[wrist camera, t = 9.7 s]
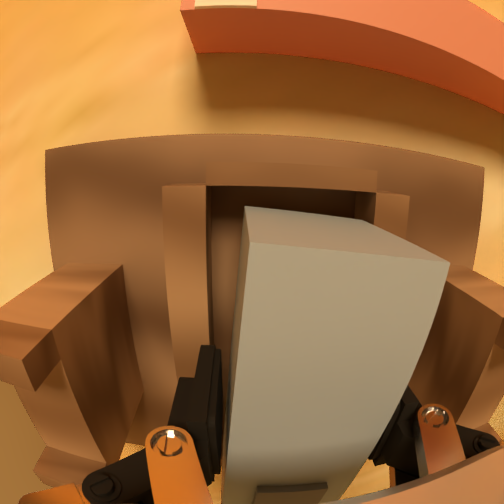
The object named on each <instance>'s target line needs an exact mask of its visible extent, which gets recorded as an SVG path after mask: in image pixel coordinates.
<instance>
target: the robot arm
mask: <svg viewBox="0 0 504 504" xmlns="http://www.w3.org/2000/svg"><path fill="white" fill-rule="evenodd" d="M222 421H223V386H222V362H221V349H216V346H215V345H201V346H200V351H199V356H198V361H197V366H196V372H195V377H194V378H191V377H180V378H179V380H178V384H177V388H176V392H175V396H174V400H173V404H172V408H171V412H170V416H169V420H168V425H167V426H163V427H158V428H156V429H154V430H153V431H151V432H150V433H149V434H148V436H147V438H146V440H145V449H143V450H140V451H138V452H136V453H134V454H132V455H130V456H128V457H126V458H124V459H121V460H119V461H117V462H115V463H113V464H110V465H108V466H106V467H103V468H101V469H99V470H96V471H94V472H92V473H90V474H89V475H87V476H86V477H85V479H84V480H83V483H81V484H78V485H75V484H74V483H70V484H66V485H63V486H59V487H55V488H51V489H46V490H42V491H37V492H32V493H28V494H26V495H24V496H22V497H21V498H20V500H19V503H18V504H213V502H212V499H211V496H210V493H209V490H208V488H207V486H209V485H210V484H212V481H214V474H220V470H221V444H222ZM368 459H369V460H373V463H374V465H375V466H377V465H381V464H385V463H386V464H387V465H388V466H389V475H390V488H388V489H384V490H381V491H377V492H373V493H369V494H365V495H361V496H357V497H352V498H348V499H343V500H337V501H332V502H326V503H320V504H504V440H500V441H499V442H498V440H497V439H496V438H495V437H494V436H493V435H491V434H489V433H486V432H482V431H478V430H474V429H471V428H467V427H464V426H460V425H457V424H455V422H454V419H453V416H452V414H451V412H450V411H449V410H448V409H447V408H445V407H444V406H442V405H438V404H426V405H424V406H422V405H421V403H420V402H419V400H418V399H417V397H416V396H415V394H414V393H413V392H412V390H411V389H410V387H409V386H408V385H407V387H406V389H405V391H404V393H403V396H402V398H401V400H400V402H399V404H398V406H397V408H396V410H395V411H394V413H393V415H392V417H391V419H390V421H389V423H388V425H387V426H386V428H385V430H384V432H383V433H382V435H381V437H380V439H379V440H378V442H377V444H376V445H375V447H374V449H373V450H372V452H371V454H370V455H369V457H368Z"/></svg>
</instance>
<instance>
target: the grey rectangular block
mask: <svg viewBox="0 0 504 504" xmlns="http://www.w3.org/2000/svg"><path fill="white" fill-rule="evenodd" d="M449 266H450V262H448V261H446V260H444V259H442V258H440V257H439V256H437V255H435V254H433V253H431V252H429V251H427V250H425V249H423V248H421V247H419V246H417V245H415V244H413V243H411V242H408V241H406V240H404V239H402V238H400V237H398V236H396V235H394V234H392V233H390V232H387V231H385V230H383V229H381V228H379V227H377V226H374V225H372V224H370V223H368V222H366V221H363V220H359V219H351V218H344V217H337V216H329V215H321V214H313V213H305V212H297V211H288V210H279V209H270V208H261V207H251V206H245V207H244V217H243V227H242V236H241V246H240V256H239V266H238V277H237V287H236V298H235V308H234V319H233V330H232V341H231V352H230V363H229V374H228V386H227V398H226V410H225V422H224V434H223V458H222V490H221V504H320V503H326V502H332V501H337V500H339V499H340V497H341V496H342V495H343V493H344V492H345V491H346V489H347V488H348V487H349V485H350V484H351V482H352V481H353V479H354V478H355V477H356V475H357V474H358V472H359V471H360V469H361V468H362V466H363V465H364V463H365V462H366V460H367V458H368V457H369V455H370V454H371V452H372V450H373V449H374V447H375V445H376V444H377V442H378V440H379V439H380V437H381V435H382V433H383V432H384V430H385V428H386V426H387V425H388V423H389V421H390V419H391V417H392V415H393V413H394V411H395V410H396V408H397V406H398V404H399V402H400V400H401V398H402V396H403V393H404V391H405V389H406V387H407V385H408V383H409V381H410V378H411V376H412V374H413V372H414V369H415V367H416V365H417V362H418V360H419V357H420V355H421V353H422V350H423V347H424V345H425V342H426V340H427V337H428V334H429V331H430V329H431V326H432V323H433V320H434V317H435V314H436V311H437V308H438V305H439V302H440V298H441V295H442V292H443V288H444V285H445V281H446V278H447V274H448V270H449Z"/></svg>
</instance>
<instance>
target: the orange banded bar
mask: <svg viewBox="0 0 504 504" xmlns="http://www.w3.org/2000/svg"><path fill="white" fill-rule="evenodd" d="M180 11H181V14H182V16H183V19H184V22H185V25H186V27H187V30H188V33H189V35H190V38H191V41H192V43H193V46H194V49H195V52H196V53H223V52H236V53H266V54H281V55H292V56H302V57H311V58H318V59H325V60H332V61H338V62H344V63H349V64H355V65H360V66H364V67H369V68H374V69H378V70H382V71H386V72H390V73H394V74H398V75H401V76H405V77H408V78H412V79H415V80H418V81H422V82H425V83H428V84H431V85H434V86H437V87H440V88H443V89H445V90H448V91H451V92H453V93H456V94H459V95H461V96H464V97H466V98H469V99H471V100H473V101H476V102H478V103H480V104H483V105H485V106H487V107H489V108H491V109H493V110H496V111H498V112H500V113H502V114H504V23H503V22H501V21H500V20H498V19H497V18H495V17H494V16H492V15H491V14H489V13H488V12H486V11H485V10H483V9H481V8H480V7H478V6H476V5H475V4H473V3H471V2H470V1H468V0H182V1H181V8H180Z"/></svg>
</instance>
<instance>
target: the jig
mask: <svg viewBox="0 0 504 504" xmlns="http://www.w3.org/2000/svg"><path fill="white" fill-rule="evenodd" d="M45 182H46V205H47V219H48V230H49V239H50V247H51V255H52V262H53V268H54V272H52V273H51V274H49V275H48V276H46V277H45V278H43V279H42V280H40V281H38V282H37V283H35V284H34V285H32V286H31V287H29V288H28V289H26V290H25V291H23V292H22V293H21V294H19V295H18V296H16V297H15V298H13V299H12V300H10V301H9V302H8V303H6V304H5V305H3V306H2V307H1V308H0V380H1V381H3V382H6V383H9V384H12V385H14V387H15V389H16V391H17V393H18V396H19V398H20V399H21V401H22V404H23V406H24V407H25V409H26V411H27V413H28V415H29V417H30V419H31V420H32V422H33V424H34V426H35V427H36V429H37V431H38V433H39V434H40V436H41V437H42V439H43V441H44V442H45V444H46V447H45V449H44V451H43V453H42V455H41V457H40V458H39V460H38V462H37V464H36V466H35V468H34V470H33V471H34V473H35V474H36V475H37V476H38V477H39V478H40V480H41V481H42V482H43V483H44V484H46V485H49V486H51V487H53V488H55V487H59V486H63V485H66V484H70V483H74V484H75V485H78V484H81V483H83V480H84V479H85V477H86V476H87V475H89V474H90V473H92V472H94V471H96V470H99V469H101V468H103V467H106V466H108V465H110V464H113V463H115V462H117V461H119V459H120V456H121V453H122V450H123V447H124V444H125V442H126V443H132V444H138V445H144V446H145V440H146V438H147V436H148V434H149V433H150V432H151V431H153V430H154V429H156V428H158V427H163V426H167V425H168V420H169V416H170V412H171V408H172V404H173V400H174V396H175V392H176V388H177V384H178V380H179V378H180V377H191V378H194V377H195V372H196V366H197V361H198V356H199V351H200V346H201V345H215V346H216V349H221V362H222V386H223V421H222V444H221V466H222V458H223V434H224V422H225V410H226V398H227V386H228V374H229V363H230V352H231V341H232V330H233V319H234V308H235V298H236V287H237V277H238V266H239V256H240V246H241V236H242V227H243V217H244V207H245V206H251V207H261V208H270V209H279V210H288V211H297V212H305V213H313V214H321V215H329V216H337V217H344V218H351V219H359V220H363V221H366V222H368V223H370V224H372V225H374V226H377V227H379V228H381V229H383V230H385V231H387V232H390V233H392V234H394V235H396V236H398V237H400V238H402V239H404V240H406V241H408V242H411V243H413V244H415V245H417V246H419V247H421V248H423V249H425V250H427V251H429V252H431V253H433V254H435V255H437V256H439V257H440V258H442V259H444V260H446V261H448V262H450V266H449V270H448V274H447V278H446V281H445V285H444V288H443V292H442V295H441V298H440V302H439V305H438V308H437V311H436V314H435V317H434V320H433V323H432V326H431V329H430V331H429V334H428V337H427V340H426V342H425V345H424V347H423V350H422V353H421V355H420V357H419V360H418V362H417V365H416V367H415V369H414V372H413V374H412V376H411V378H410V381H409V383H408V386H409V387H410V389H411V390H412V392H413V393H414V394H415V396H416V397H417V399H418V400H419V402H420V403H421V405H422V406H424V405H426V404H438V405H442V406H444V407H445V408H447V409H448V410H449V411H450V412H451V414H452V416H453V419H454V422H455V424H457V425H460V426H464V427H467V428H471V429H474V430H478V431H482V432H486V433H489V434H491V435H493V436H494V437H495V438H496V439H497V440H498V442H499V441H500V440H502V439H501V438H500V437H499V436H498V434H497V433H496V432H495V431H494V429H493V428H492V427H491V426H490V424H489V423H488V421H489V420H490V418H491V416H492V415H493V413H494V411H495V409H496V408H497V406H498V404H499V402H500V401H501V399H502V397H503V395H504V287H502V286H501V285H499V284H497V283H495V282H493V281H492V280H490V279H488V278H486V277H484V276H482V275H480V274H479V273H477V272H475V271H473V265H474V259H475V254H476V248H477V242H478V235H479V228H480V220H481V211H482V201H483V187H484V167H480V166H477V165H473V164H469V163H465V162H461V161H457V160H453V159H449V158H444V157H440V156H435V155H430V154H425V153H420V152H415V151H410V150H404V149H399V148H393V147H387V146H380V145H374V144H366V143H359V142H351V141H343V140H333V139H323V138H312V137H299V136H283V135H261V134H188V135H166V136H151V137H138V138H127V139H117V140H108V141H100V142H92V143H85V144H78V145H72V146H65V147H59V148H54V149H48V150H45Z"/></svg>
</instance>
